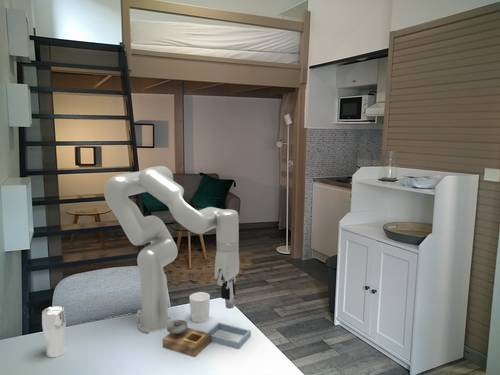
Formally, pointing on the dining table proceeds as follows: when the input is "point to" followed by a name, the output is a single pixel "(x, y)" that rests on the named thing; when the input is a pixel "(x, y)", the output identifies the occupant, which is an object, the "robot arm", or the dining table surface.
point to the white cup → (199, 306)
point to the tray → (230, 329)
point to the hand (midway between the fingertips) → (228, 296)
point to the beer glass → (54, 330)
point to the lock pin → (230, 302)
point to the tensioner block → (185, 338)
